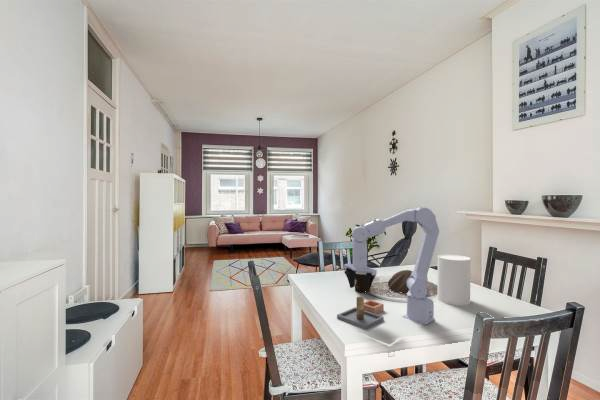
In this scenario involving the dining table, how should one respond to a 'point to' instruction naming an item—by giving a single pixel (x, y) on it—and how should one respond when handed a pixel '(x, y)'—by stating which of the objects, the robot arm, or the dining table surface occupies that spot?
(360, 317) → the oak peg
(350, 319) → the slate tray
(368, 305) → the terracotta square socket
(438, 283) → the canister
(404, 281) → the decorative dome
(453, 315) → the dining table surface
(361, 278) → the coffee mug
